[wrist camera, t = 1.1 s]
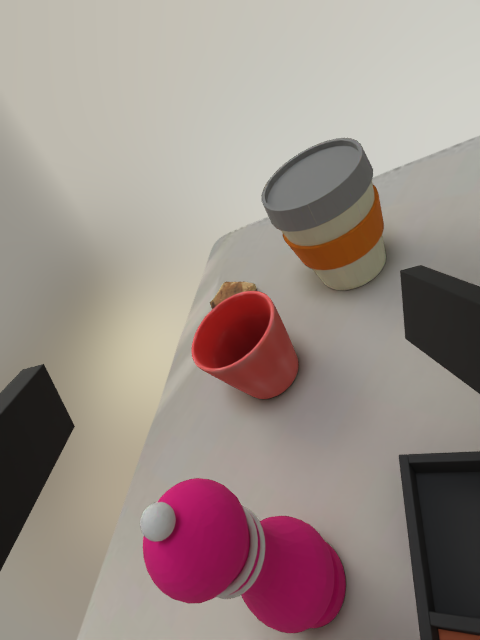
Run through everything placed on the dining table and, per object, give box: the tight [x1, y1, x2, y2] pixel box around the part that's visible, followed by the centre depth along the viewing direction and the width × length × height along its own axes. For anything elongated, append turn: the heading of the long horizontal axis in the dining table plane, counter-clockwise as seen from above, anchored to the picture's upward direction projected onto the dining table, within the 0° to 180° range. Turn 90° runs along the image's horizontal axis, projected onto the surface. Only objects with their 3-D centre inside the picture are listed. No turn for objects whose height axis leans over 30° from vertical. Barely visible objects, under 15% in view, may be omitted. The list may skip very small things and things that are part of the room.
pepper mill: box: [140, 478, 346, 633], centre depth 24 cm, size 7×7×20 cm
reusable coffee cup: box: [262, 138, 386, 290], centre depth 45 cm, size 13×13×15 cm
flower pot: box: [192, 291, 299, 399], centre depth 43 cm, size 11×11×10 cm
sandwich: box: [210, 282, 256, 310], centre depth 58 cm, size 11×8×2 cm
